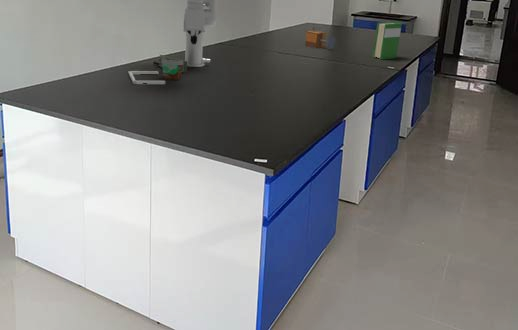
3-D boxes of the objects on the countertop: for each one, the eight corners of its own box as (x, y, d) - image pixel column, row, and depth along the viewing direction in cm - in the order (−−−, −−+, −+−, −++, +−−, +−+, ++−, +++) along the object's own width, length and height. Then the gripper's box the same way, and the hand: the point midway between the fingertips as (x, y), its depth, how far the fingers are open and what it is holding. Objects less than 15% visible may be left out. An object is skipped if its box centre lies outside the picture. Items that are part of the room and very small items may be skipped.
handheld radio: (183, 73, 304) (151, 65, 317) (187, 73, 306) (155, 64, 320) (184, 61, 302) (151, 53, 315) (188, 60, 304) (156, 53, 318)
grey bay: (158, 74, 297) (158, 71, 296) (165, 84, 277) (165, 81, 277) (128, 73, 292) (128, 71, 291) (133, 84, 272) (133, 81, 272)
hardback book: (380, 59, 391) (386, 24, 383) (372, 57, 396) (377, 22, 388) (396, 58, 402) (401, 23, 394) (387, 56, 407) (393, 22, 399)
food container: (155, 77, 288) (156, 58, 285) (163, 76, 293) (163, 56, 290) (175, 82, 283) (176, 62, 280) (182, 80, 288) (183, 60, 285)
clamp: (325, 50, 410) (328, 30, 405) (304, 46, 423) (306, 26, 418) (334, 49, 417) (337, 29, 412) (313, 45, 430) (316, 25, 425)
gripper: (207, 6, 285) (206, 43, 291) (178, 4, 280) (177, 42, 286) (211, 7, 278) (209, 45, 284) (181, 6, 273) (180, 44, 280)
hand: (193, 43), depth 285 cm, fingers closed
